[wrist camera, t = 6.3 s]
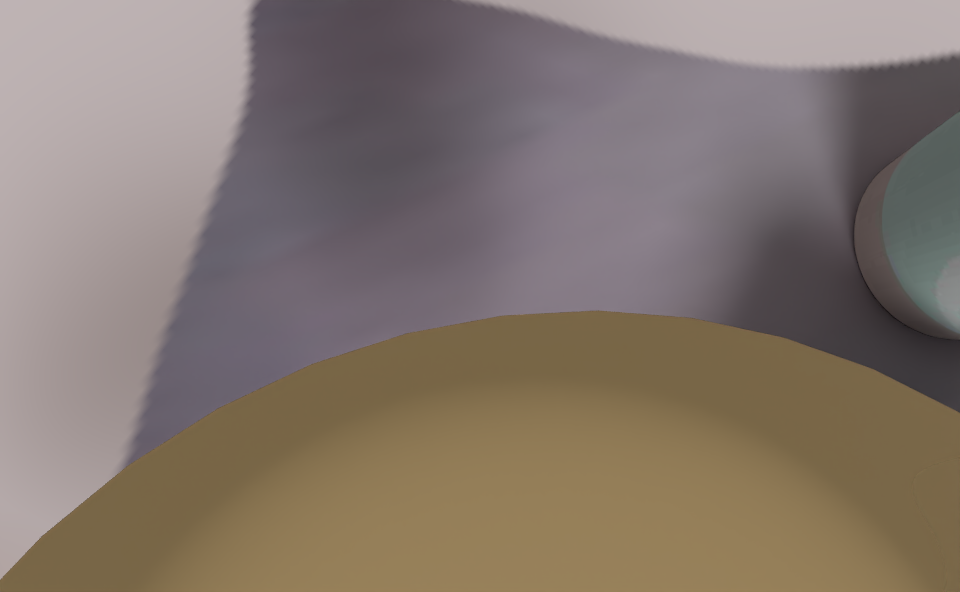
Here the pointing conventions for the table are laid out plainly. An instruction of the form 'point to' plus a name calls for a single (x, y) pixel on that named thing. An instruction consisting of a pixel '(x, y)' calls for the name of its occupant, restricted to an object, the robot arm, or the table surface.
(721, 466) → the brass cylinder
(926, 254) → the coffee cup
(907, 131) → the table surface
